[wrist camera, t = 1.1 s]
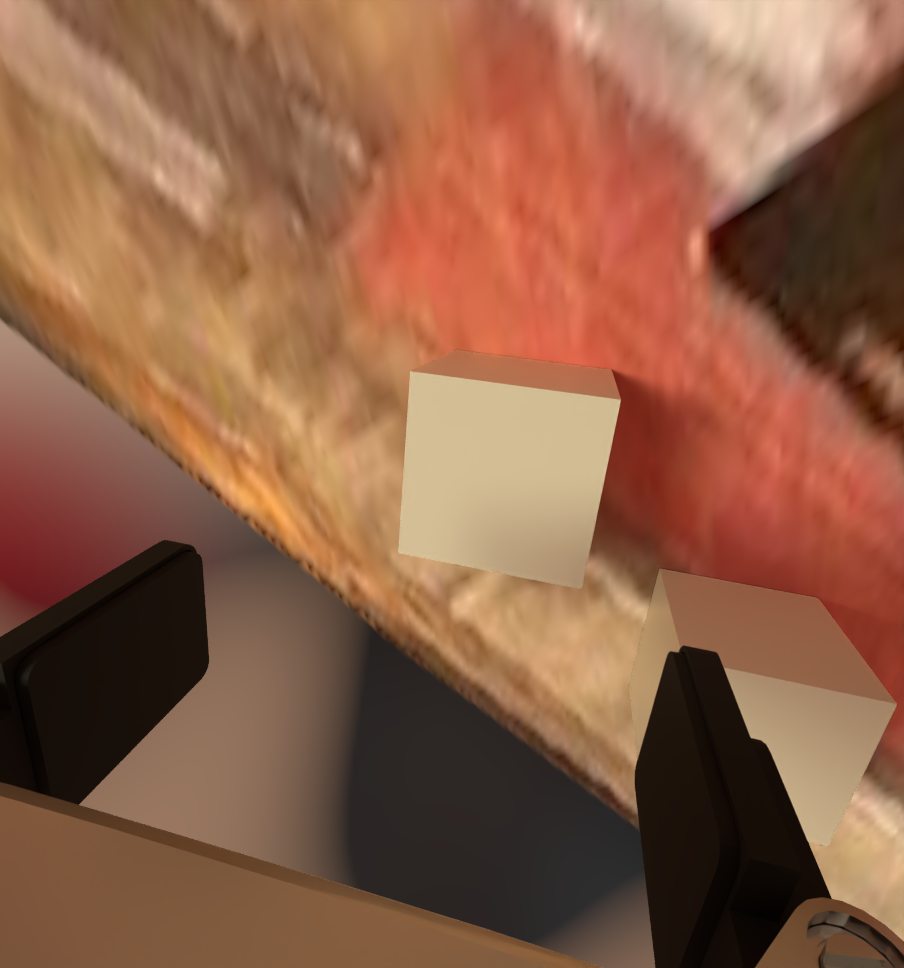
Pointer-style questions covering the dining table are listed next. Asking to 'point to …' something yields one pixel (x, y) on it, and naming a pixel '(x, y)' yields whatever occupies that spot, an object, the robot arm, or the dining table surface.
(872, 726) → the cover empty
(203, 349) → the dining table surface
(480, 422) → the cover cube
